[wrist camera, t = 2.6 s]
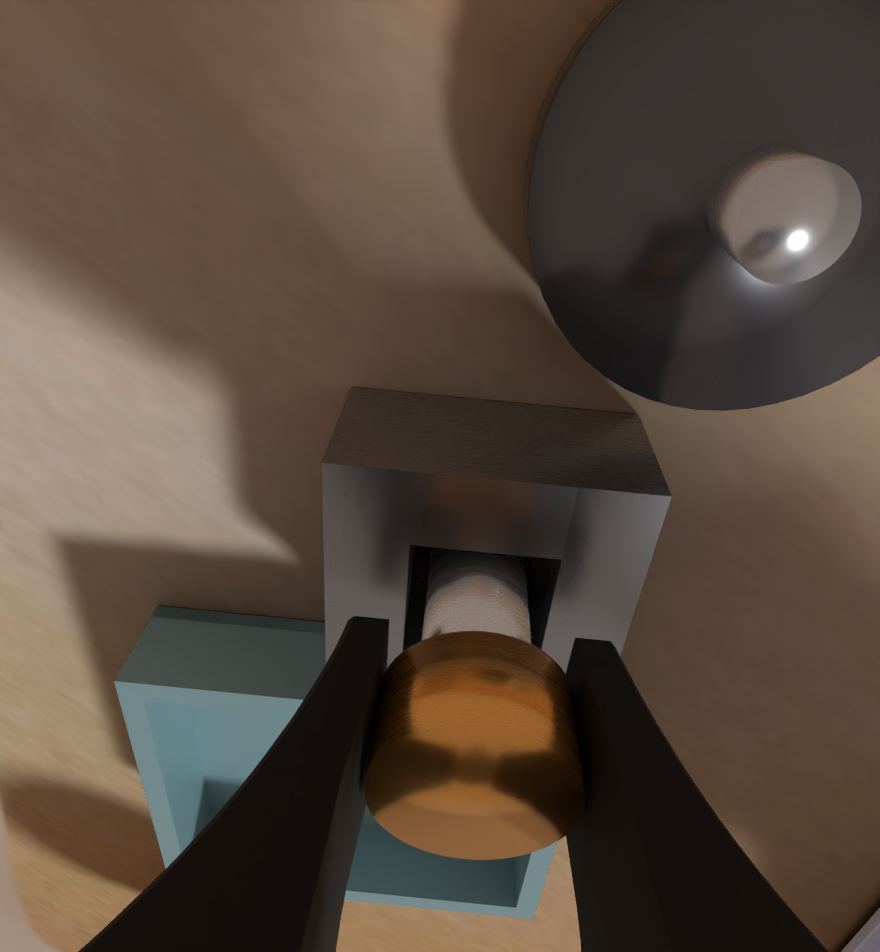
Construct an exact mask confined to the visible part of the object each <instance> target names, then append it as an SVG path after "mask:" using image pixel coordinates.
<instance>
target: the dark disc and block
mask: <svg viewBox="0 0 880 952" xmlns="http://www.w3.org/2000/svg"><path fill="white" fill-rule="evenodd" d="M524 201H525V221H526V227H527V232H528V238H529V244H530V249H531V254H532V259H533V263H534V268H535V273H536V276H537V279H538V282H539V285H540V288H541V291H542V295H543V298H544V300H545V302H546V304H547V306H548V308H549V310H550V312H551V314H552V316H553V318H554V320H555V322H556V324H557V325H558V327H559V328H560V330H561V331H562V333H563V334H564V336H565V337H566V339H567V340H568V342H569V343H570V344H571V345H572V346H573V347H574V348H575V350H576V351H577V352H578V353H579V354H580V355H581V356H582V357H583V358H584V359H585V361H587V362H588V363H589V364H590V365H591V366H593V367H594V368H595V369H596V370H597V371H599V372H600V373H601V374H602V375H604V376H605V377H606V378H608V379H610V380H611V381H613V382H615V383H616V384H618V385H620V386H621V387H623V388H624V389H626V390H629V391H631V392H633V393H636V394H638V395H640V396H642V397H645V398H647V399H650V400H654V401H657V402H660V403H664V404H667V405H671V406H677V407H683V408H690V409H696V410H722V411H723V410H736V409H749V408H754V407H760V406H765V405H770V404H776V403H779V402H783V401H786V400H789V399H793V398H796V397H800V396H803V395H806V394H808V393H810V392H813V391H815V390H818V389H820V388H823V387H825V386H828V385H830V384H832V383H834V382H836V381H838V380H840V379H842V378H844V377H846V376H847V375H849V374H851V373H853V372H855V371H857V370H859V369H860V368H862V367H863V366H865V365H866V364H868V363H869V362H871V361H873V360H874V359H876V358H877V357H879V356H880V0H613V1H612V2H611V3H610V4H609V5H608V6H607V7H606V8H605V9H604V10H603V11H602V12H601V13H600V14H599V15H598V16H597V17H596V18H595V19H594V20H593V22H592V23H591V24H590V26H589V27H588V28H587V30H586V31H585V32H584V33H583V35H582V36H581V37H580V39H579V40H578V41H577V43H576V44H575V45H574V47H573V48H572V50H571V51H570V53H569V55H568V56H567V58H566V60H565V61H564V63H563V65H562V66H561V68H560V70H559V71H558V73H557V75H556V76H555V78H554V81H553V83H552V85H551V87H550V89H549V92H548V94H547V96H546V98H545V101H544V103H543V105H542V107H541V110H540V113H539V117H538V120H537V123H536V126H535V129H534V132H533V135H532V140H531V145H530V150H529V155H528V160H527V165H526V177H525V190H524ZM671 497H672V496H671V494H670V491H669V489H668V486H667V484H666V481H665V479H664V476H663V474H662V471H661V469H660V466H659V464H658V461H657V459H656V456H655V454H654V451H653V449H652V446H651V444H650V441H649V439H648V437H647V434H646V432H645V429H644V427H643V424H642V422H641V419H640V417H639V415H636V414H625V413H615V412H604V411H594V410H583V409H573V408H562V407H552V406H542V405H531V404H521V403H510V402H500V401H489V400H479V399H469V398H458V397H448V396H437V395H427V394H416V393H406V392H396V391H385V390H375V389H364V388H354V387H351V389H350V391H349V394H348V396H347V399H346V402H345V404H344V407H343V409H342V412H341V414H340V417H339V419H338V422H337V425H336V427H335V430H334V432H333V435H332V437H331V440H330V442H329V445H328V447H327V450H326V453H325V455H324V458H323V460H322V509H323V555H324V601H325V647H326V663H327V661H328V660H329V658H330V656H331V654H332V652H333V650H334V649H335V647H336V645H337V643H338V641H339V639H340V637H341V635H342V633H343V630H344V628H345V626H346V623H347V621H348V620H349V619H350V618H352V617H354V616H361V617H372V618H382V619H389V637H388V657H387V668H388V666H389V665H390V664H391V663H392V661H393V660H394V659H395V658H396V657H397V656H398V655H399V654H401V653H402V652H403V651H404V650H406V649H407V648H409V647H410V646H412V645H414V644H416V643H418V642H420V641H422V632H423V623H424V614H425V604H426V595H427V586H428V577H429V567H430V559H425V558H416V546H426V547H436V548H446V549H457V550H467V551H477V552H487V553H498V554H508V555H518V556H528V557H532V562H531V568H530V569H527V568H526V580H527V593H528V607H529V620H530V634H531V644H532V645H534V646H536V647H538V648H539V649H541V650H542V651H544V652H545V653H547V654H548V655H549V656H550V657H551V658H553V659H554V660H555V661H556V662H557V663H558V665H559V666H560V667H561V668H562V670H563V671H564V673H565V674H566V670H567V666H568V663H569V659H570V655H571V651H572V647H573V644H574V640H575V638H585V639H595V640H605V641H611V642H612V643H613V645H614V646H615V647H616V649H617V651H618V653H619V655H620V657H621V653H622V650H623V647H624V644H625V641H626V638H627V635H628V632H629V629H630V625H631V622H632V619H633V616H634V613H635V610H636V607H637V604H638V600H639V597H640V594H641V591H642V588H643V585H644V582H645V579H646V575H647V572H648V569H649V566H650V563H651V560H652V557H653V554H654V551H655V547H656V544H657V541H658V538H659V535H660V532H661V529H662V526H663V522H664V519H665V516H666V513H667V510H668V507H669V504H670V501H671Z"/></svg>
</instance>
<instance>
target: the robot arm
mask: <svg viewBox="0 0 880 952" xmlns="http://www.w3.org/2000/svg"><path fill="white" fill-rule="evenodd" d="M388 637H389V619H382V618H372V617H361V616H354V617H352V618H350V619H349V620H348V621H347V623H346V626H345V628H344V630H343V633H342V635H341V637H340V639H339V641H338V643H337V645H336V647H335V649H334V650H333V652H332V654H331V656H330V658H329V660H328V661H327V663H326V665H325V666H324V668H323V670H322V672H321V673H320V675H319V677H318V678H317V680H316V682H315V683H314V685H313V686H312V688H311V689H310V691H309V692H308V694H307V695H306V697H305V699H304V700H303V702H302V703H301V705H300V706H299V708H298V709H297V711H296V712H295V714H294V715H293V717H292V718H291V720H290V721H289V723H288V724H287V725H286V727H285V728H284V730H283V731H282V732H281V734H280V735H279V736H278V738H277V739H276V740H275V742H274V743H273V745H272V746H271V747H270V749H269V750H268V751H267V753H266V754H265V755H264V757H263V758H262V760H261V761H260V762H259V763H258V765H257V766H256V767H255V769H254V770H253V771H252V772H251V774H250V775H249V776H248V777H247V779H246V780H245V781H244V782H243V784H242V785H241V786H240V787H239V788H238V790H237V791H236V792H235V793H234V794H233V796H232V797H231V798H230V799H229V800H228V801H227V803H226V804H225V805H224V806H223V807H222V809H221V810H220V811H219V812H218V813H217V814H216V815H215V817H214V818H213V819H212V820H211V821H210V822H209V823H208V824H207V825H206V826H205V828H204V829H203V830H202V831H201V832H200V833H199V834H198V835H197V836H196V837H195V838H194V840H193V841H192V842H191V843H190V844H189V845H188V846H187V847H186V848H185V849H184V850H183V852H182V853H181V854H180V855H179V856H178V857H177V858H176V859H175V860H174V861H173V862H172V863H171V864H170V865H169V866H168V867H167V868H166V869H165V870H164V871H163V872H162V873H161V874H160V875H159V876H158V877H157V878H156V879H155V880H154V881H153V882H152V883H151V884H150V885H149V886H148V887H147V888H146V889H145V890H144V891H143V892H142V893H141V894H140V895H139V896H137V897H136V898H135V899H134V900H133V901H132V902H131V903H130V904H129V905H128V906H127V907H126V908H125V909H124V910H123V911H122V912H121V913H120V914H119V915H118V916H117V917H116V918H115V919H113V920H112V921H111V922H110V923H109V924H108V925H107V926H106V927H105V928H104V929H103V930H102V931H101V932H100V933H99V934H97V935H96V936H95V937H94V938H93V939H92V940H91V941H90V942H89V943H88V944H86V945H85V946H84V947H83V948H82V949H81V950H80V951H78V952H336V945H337V939H338V932H339V925H340V919H341V913H342V908H343V903H344V898H345V893H346V888H347V883H348V879H349V875H350V871H351V866H352V862H353V858H354V854H355V849H356V845H357V841H358V837H359V833H360V828H361V824H362V820H363V816H364V811H365V807H366V801H365V796H364V786H365V779H366V773H367V767H368V761H369V755H370V749H371V743H372V737H373V731H374V724H375V718H376V712H377V707H378V703H379V698H380V693H381V687H382V681H383V676H384V673H385V672H386V670H387V657H388ZM566 676H567V678H568V681H569V683H570V687H571V691H572V698H573V706H574V714H575V721H576V729H577V736H578V744H579V752H580V759H581V767H582V775H583V782H584V790H585V806H584V811H583V813H582V816H581V818H580V820H579V821H578V823H577V824H576V825H575V827H574V828H573V829H572V830H571V831H570V832H569V833H568V834H567V835H566V838H567V844H568V851H569V858H570V864H571V871H572V878H573V884H574V891H575V898H576V904H577V912H578V921H579V930H580V939H581V952H828V950H827V949H826V948H825V947H824V946H823V945H822V944H821V943H820V942H819V941H818V939H817V938H816V937H815V936H814V935H813V934H812V933H811V932H810V931H809V929H808V928H807V927H806V926H805V925H804V924H803V923H802V922H801V921H800V919H799V918H798V917H797V916H796V915H795V914H794V913H793V912H792V910H791V909H790V908H789V907H788V906H787V904H786V903H785V902H784V901H783V900H782V898H781V897H780V896H779V895H778V894H777V892H776V891H775V890H774V889H773V888H772V886H771V885H770V884H769V883H768V881H767V880H766V879H765V878H764V877H763V875H762V874H761V873H760V872H759V870H758V869H757V868H756V867H755V865H754V864H753V863H752V861H751V860H750V859H749V858H748V856H747V855H746V854H745V852H744V851H743V850H742V849H741V847H740V846H739V845H738V843H737V842H736V841H735V839H734V838H733V837H732V835H731V834H730V833H729V831H728V830H727V829H726V827H725V826H724V825H723V823H722V822H721V820H720V819H719V818H718V816H717V815H716V813H715V812H714V811H713V809H712V808H711V806H710V805H709V803H708V802H707V801H706V799H705V798H704V796H703V795H702V793H701V792H700V790H699V789H698V787H697V786H696V785H695V783H694V782H693V780H692V779H691V777H690V775H689V774H688V772H687V771H686V769H685V768H684V766H683V765H682V763H681V762H680V760H679V758H678V757H677V755H676V754H675V752H674V750H673V749H672V747H671V746H670V744H669V742H668V741H667V739H666V737H665V736H664V734H663V733H662V731H661V729H660V728H659V726H658V724H657V723H656V721H655V719H654V718H653V716H652V714H651V712H650V711H649V709H648V707H647V705H646V704H645V702H644V700H643V698H642V696H641V695H640V693H639V691H638V689H637V687H636V686H635V684H634V682H633V680H632V678H631V676H630V674H629V673H628V671H627V669H626V667H625V665H624V663H623V661H622V659H621V657H620V655H619V653H618V651H617V649H616V647H615V646H614V645H613V643H612V642H611V641H605V640H595V639H585V638H575V640H574V644H573V647H572V651H571V655H570V659H569V663H568V666H567V670H566ZM841 952H880V908H879V909H878V910H877V911H876V912H875V913H874V914H873V916H872V917H871V918H870V919H869V920H868V921H867V922H866V924H865V925H864V926H863V927H862V928H861V929H860V930H859V932H858V933H857V934H856V935H855V936H854V937H853V938H852V940H851V941H850V942H849V943H848V944H847V945H846V946H845V948H844V949H843V950H842V951H841Z"/></svg>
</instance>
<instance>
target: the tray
mask: <svg viewBox="0 0 880 952" xmlns="http://www.w3.org/2000/svg"><path fill="white" fill-rule="evenodd" d="M325 665H326V647H325V622H316V621H306V620H296V619H286V618H276V617H265V616H255V615H245V614H235V613H225V612H215V611H204V610H194V609H184V608H174V607H164V606H157V608H156V610H155V611H154V613H153V615H152V616H151V618H150V620H149V622H148V623H147V625H146V627H145V628H144V630H143V632H142V634H141V635H140V637H139V639H138V640H137V642H136V644H135V646H134V647H133V649H132V651H131V653H130V654H129V656H128V658H127V659H126V661H125V663H124V665H123V666H122V668H121V670H120V671H119V673H118V675H117V677H116V678H115V680H114V683H115V687H116V691H117V694H118V698H119V702H120V705H121V709H122V713H123V716H124V720H125V723H126V727H127V731H128V734H129V738H130V742H131V745H132V749H133V752H134V756H135V760H136V763H137V767H138V771H139V774H140V778H141V782H142V785H143V789H144V792H145V796H146V800H147V803H148V807H149V811H150V814H151V818H152V821H153V825H154V829H155V832H156V836H157V840H158V843H159V847H160V850H161V854H162V858H163V861H164V865H165V869H166V868H167V867H168V866H169V865H170V864H171V863H172V862H173V861H174V860H175V859H176V858H177V857H178V856H179V855H180V854H181V853H182V852H183V850H184V849H185V848H186V847H187V846H188V845H189V844H190V843H191V842H192V841H193V840H194V838H195V837H196V836H197V835H198V834H199V833H200V832H201V831H202V830H203V829H204V828H205V826H206V825H207V824H208V823H209V822H210V821H211V820H212V819H213V818H214V817H215V815H216V814H217V813H218V812H219V811H220V810H221V809H222V807H223V806H224V805H225V804H226V803H227V801H228V800H229V799H230V798H231V797H232V796H233V794H234V793H235V792H236V791H237V790H238V788H239V787H240V786H241V785H242V784H243V782H244V781H245V780H246V779H247V777H248V776H249V775H250V774H251V772H252V771H253V770H254V769H255V767H256V766H257V765H258V763H259V762H260V761H261V760H262V758H263V757H264V755H265V754H266V753H267V751H268V750H269V749H270V747H271V746H272V745H273V743H274V742H275V740H276V739H277V738H278V736H279V735H280V734H281V732H282V731H283V730H284V728H285V727H286V725H287V724H288V723H289V721H290V720H291V718H292V717H293V715H294V714H295V712H296V711H297V709H298V708H299V706H300V705H301V703H302V702H303V700H304V699H305V697H306V695H307V694H308V692H309V691H310V689H311V688H312V686H313V685H314V683H315V682H316V680H317V678H318V677H319V675H320V673H321V672H322V670H323V668H324V666H325ZM556 845H557V842H555V843H553V844H551V845H550V846H547V847H545V848H543V849H541V850H538V851H535V852H532V853H529V854H525V855H521V856H517V857H511V858H504V859H493V860H471V859H459V858H452V857H447V856H442V855H437V854H434V853H430V852H427V851H424V850H421V849H418V848H416V847H413V846H411V845H409V844H407V843H405V842H403V841H401V840H399V839H398V838H396V837H394V836H393V835H392V834H390V833H389V832H388V831H386V830H385V829H384V828H383V827H382V826H381V825H380V824H379V823H378V822H377V821H376V820H375V818H374V817H373V816H372V815H371V813H370V811H369V809H368V807H367V804H366V807H365V811H364V816H363V820H362V824H361V828H360V833H359V837H358V841H357V845H356V849H355V854H354V858H353V862H352V866H351V871H350V875H349V879H348V883H347V888H346V893H345V898H344V900H347V901H357V902H367V903H377V904H387V905H396V906H406V907H416V908H426V909H436V910H446V911H455V912H465V913H475V914H485V915H495V916H505V917H514V918H524V919H533V918H534V914H535V911H536V908H537V905H538V902H539V899H540V895H541V892H542V889H543V886H544V883H545V880H546V876H547V873H548V870H549V867H550V864H551V860H552V857H553V854H554V851H555V848H556Z"/></svg>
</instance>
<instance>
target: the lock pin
mask: <svg viewBox="0 0 880 952" xmlns="http://www.w3.org/2000/svg"><path fill="white" fill-rule="evenodd" d="M364 796H365V801H366V804H367V807H368V809H369V811H370V813H371V815H372V816H373V817H374V818H375V820H376V821H377V822H378V823H379V824H380V825H381V826H382V827H383V828H384V829H385V830H386V831H388V832H389V833H390V834H392V835H393V836H394V837H396V838H398V839H399V840H401V841H403V842H405V843H407V844H409V845H411V846H413V847H416V848H418V849H421V850H424V851H427V852H430V853H434V854H437V855H442V856H447V857H452V858H459V859H471V860H493V859H504V858H511V857H517V856H521V855H525V854H529V853H532V852H535V851H538V850H541V849H543V848H545V847H547V846H550V845H551V844H553V843H555V842H557V841H558V840H560V839H561V838H563V837H564V836H565V835H567V834H568V833H569V832H570V831H571V830H572V829H573V828H574V827H575V825H576V824H577V823H578V821H579V820H580V818H581V816H582V813H583V811H584V806H585V790H584V782H583V775H582V767H581V759H580V752H579V744H578V736H577V729H576V721H575V714H574V706H573V698H572V691H571V687H570V683H569V681H568V678H567V676H566V674H565V673H564V671H563V670H562V668H561V667H560V666H559V665H558V663H557V662H556V661H555V660H554V659H553V658H551V657H550V656H549V655H548V654H547V653H545V652H544V651H542V650H541V649H539V648H538V647H536V646H534V645H532V644H531V634H530V620H529V607H528V593H527V580H526V567H525V556H518V555H508V554H498V553H487V552H477V551H467V550H457V549H446V548H436V547H432V549H431V558H430V567H429V577H428V586H427V595H426V604H425V614H424V623H423V632H422V641H420V642H418V643H416V644H414V645H412V646H410V647H409V648H407V649H406V650H404V651H403V652H402V653H401V654H399V655H398V656H397V657H396V658H395V659H394V660H393V661H392V663H391V664H390V665H389V666H388V668H387V670H386V672H385V673H384V676H383V681H382V687H381V693H380V698H379V703H378V707H377V712H376V718H375V724H374V731H373V737H372V743H371V749H370V755H369V761H368V767H367V773H366V779H365V786H364Z"/></svg>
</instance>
